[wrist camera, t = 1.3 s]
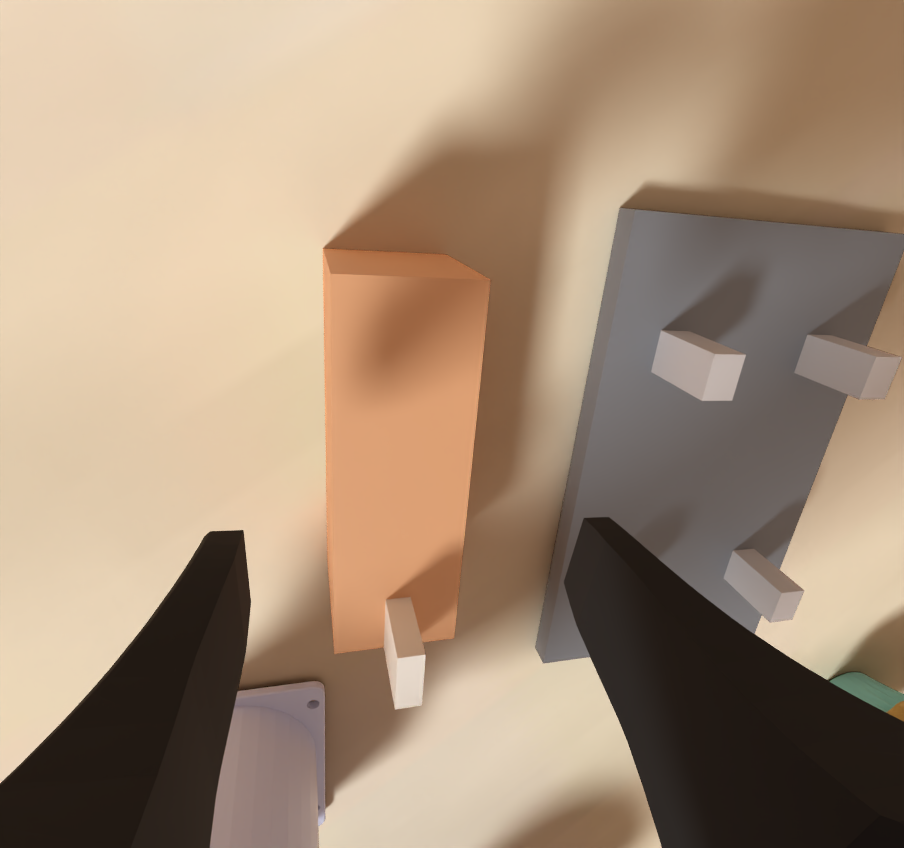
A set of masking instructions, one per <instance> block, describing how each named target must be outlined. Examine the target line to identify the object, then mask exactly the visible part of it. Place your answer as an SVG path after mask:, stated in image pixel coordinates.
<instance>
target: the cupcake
mask: <svg viewBox="0 0 904 848" xmlns="http://www.w3.org/2000/svg"><path fill="white" fill-rule="evenodd" d="M829 682H831V683H833V684H834V685H836V686H838V687H840V688H841V689H843V690H845V691H847V692H849V693H850V694H852V695H854V696H856V697H858V698H860V699H861V700H863V701H865V702H867V703H869V704H871V705H873V706H875V707H877V708H878V709H880V710H882V711H884V712H886V713H888V714H890V715H892V716H894V717H896V718H898V719H900V720H902V721H904V694H902V693H900V692H898V691H895V690H893V689H891V688H889V687H887V686H885V685H883V684H882V683H880V682H878V681H876V680H874V679H872V678H870V677H869V676H867V675H865V674H863V673H860V672H850V673H846V674H842V675H840V676H838V677H836V678H834V679H832V680H830V681H829Z"/></svg>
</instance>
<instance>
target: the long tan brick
mask: <svg viewBox="0 0 904 848" xmlns="http://www.w3.org/2000/svg"><path fill="white" fill-rule="evenodd" d="M490 283H491V280H490V279H488V278H487V277H485V276H483V275H481V274H480V273H478V272H476V271H474V270H473V269H471V268H469V267H467V266H466V265H464V264H462V263H461V262H459V261H457V260H455V259H454V258H452V257H450V256H448V255H447V254H428V253H407V252H387V251H367V250H347V249H326V248H323V296H324V363H325V430H326V496H327V562H328V575H329V589H330V602H331V616H332V629H333V643H334V654H338V653H345V652H353V651H361V650H368V649H376V648H384V651H385V657H386V662H387V668H388V674H389V679H390V685H391V690H392V696H393V702H394V707H395V710H396V709H402V708H409V707H415V706H421V705H422V697H423V684H424V671H425V658H426V654H425V650H424V646H423V642H430V641H437V640H445V639H453V638H454V635H455V625H456V615H457V606H458V596H459V586H460V576H461V566H462V557H463V547H464V537H465V527H466V518H467V508H468V498H469V488H470V478H471V469H472V459H473V449H474V439H475V429H476V420H477V410H478V400H479V390H480V381H481V371H482V361H483V351H484V341H485V332H486V322H487V312H488V302H489V293H490Z"/></svg>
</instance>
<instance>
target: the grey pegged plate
mask: <svg viewBox="0 0 904 848" xmlns="http://www.w3.org/2000/svg"><path fill="white" fill-rule="evenodd" d="M903 252H904V234H898V233H889V232H879V231H868V230H857V229H846V228H835V227H824V226H813V225H802V224H791V223H780V222H769V221H759V220H748V219H737V218H726V217H715V216H704V215H693V214H682V213H671V212H660V211H650V210H639V209H628V208H620V210H619V215H618V220H617V225H616V230H615V236H614V241H613V246H612V251H611V256H610V262H609V267H608V272H607V277H606V282H605V288H604V293H603V298H602V303H601V308H600V314H599V319H598V324H597V329H596V334H595V340H594V345H593V350H592V355H591V360H590V366H589V371H588V376H587V381H586V386H585V392H584V397H583V402H582V407H581V412H580V418H579V423H578V428H577V433H576V438H575V444H574V449H573V454H572V459H571V464H570V470H569V475H568V480H567V485H566V490H565V496H564V501H563V506H562V511H561V516H560V522H559V527H558V532H557V537H556V542H555V548H554V553H553V558H552V563H551V568H550V574H549V579H548V584H547V589H546V594H545V600H544V605H543V610H542V615H541V620H540V626H539V631H538V636H537V641H536V646H535V648H536V650H537V652H538V654H539V656H540V658H541V660H542V662H543V663H550V662H557V661H564V660H571V659H578V658H586V657H590V655H589V653H588V650H587V648H586V646H585V644H584V641H583V639H582V637H581V635H580V632H579V630H578V628H577V625H576V622H575V619H574V616H573V613H572V610H571V606H570V603H569V599H568V596H567V592H566V589H565V585H564V579H565V576H566V573H567V570H568V567H569V563H570V560H571V557H572V554H573V551H574V547H575V544H576V541H577V538H578V535H579V531H580V528H581V525H582V522H583V519H584V518H592V517H610V518H611V519H612V520H613V521H615V522H616V523H617V524H618V525H620V526H621V527H622V528H623V529H624V530H626V531H627V532H628V533H629V534H630V535H631V536H633V537H634V538H635V539H636V540H637V541H638V542H639V543H641V544H642V545H643V546H644V547H645V548H646V549H648V550H649V551H650V552H651V553H652V554H653V555H655V556H656V557H657V558H658V559H659V560H660V561H661V562H663V563H664V564H665V565H666V566H667V567H669V568H670V569H671V570H672V571H673V572H674V573H676V574H677V575H678V576H679V577H680V578H682V579H683V580H684V581H685V582H686V583H688V584H689V585H690V586H691V587H693V588H694V589H695V590H696V591H698V592H699V593H700V594H701V595H703V596H704V597H705V598H706V599H708V600H709V601H710V602H711V603H713V604H714V605H715V606H717V607H718V608H719V609H721V610H722V611H723V612H725V613H726V614H727V615H729V616H730V617H731V618H733V619H734V620H735V621H737V622H738V623H739V624H741V625H742V626H744V627H745V628H746V629H748V630H749V631H751V632H752V633H753V634H754V633H755V631H756V628H757V626H758V623H759V621H760V618H761V615H763V616H764V617H765V618H766V619H767V620H768V621H769V622H778V621H785V620H792V619H793V616H794V614H795V612H796V609H797V607H798V605H799V602H800V600H801V597H802V595H803V593H804V590H803V589H802V588H801V587H800V586H798V585H797V584H796V583H795V582H794V581H792V580H791V579H790V578H789V577H787V576H786V575H785V574H784V573H783V572H781V571H780V570H779V569H780V567H781V564H782V562H783V559H784V557H785V554H786V551H787V549H788V546H789V544H790V541H791V539H792V536H793V533H794V531H795V528H796V526H797V523H798V521H799V518H800V516H801V513H802V510H803V508H804V505H805V503H806V500H807V498H808V495H809V493H810V490H811V487H812V485H813V482H814V480H815V477H816V475H817V472H818V469H819V467H820V464H821V462H822V459H823V457H824V454H825V452H826V449H827V446H828V444H829V441H830V439H831V436H832V434H833V431H834V429H835V426H836V423H837V421H838V418H839V416H840V413H841V411H842V408H843V405H844V403H845V400H846V398H847V395H850V396H852V397H855V398H857V399H885V397H886V395H887V393H888V390H889V388H890V385H891V383H892V381H893V378H894V376H895V374H896V371H897V369H898V366H899V364H900V362H901V359H902V357H900V356H897V355H893V354H890V353H887V352H884V351H881V350H877V349H874V348H871V347H868V346H867V344H868V341H869V339H870V336H871V334H872V331H873V329H874V326H875V324H876V321H877V318H878V316H879V313H880V311H881V308H882V306H883V303H884V301H885V298H886V295H887V293H888V290H889V288H890V285H891V283H892V280H893V277H894V275H895V272H896V270H897V267H898V265H899V262H900V260H901V257H902V254H903Z"/></svg>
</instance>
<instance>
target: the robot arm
mask: <svg viewBox="0 0 904 848" xmlns="http://www.w3.org/2000/svg"><path fill="white" fill-rule="evenodd" d="M564 585H565V589H566V592H567V596H568V599H569V603H570V606H571V610H572V613H573V616H574V619H575V622H576V625H577V628H578V630H579V632H580V635H581V637H582V639H583V641H584V644H585V646H586V648H587V650H588V653H589V655H590V657H591V660H592V662H593V664H594V666H595V668H596V671H597V673H598V675H599V677H600V679H601V682H602V684H603V686H604V688H605V691H606V693H607V695H608V697H609V699H610V702H611V704H612V706H613V708H614V710H615V713H616V715H617V717H618V719H619V722H620V724H621V727H622V729H623V732H624V734H625V736H626V739H627V741H628V744H629V747H630V750H631V753H632V756H633V759H634V762H635V765H636V768H637V770H638V773H639V776H640V779H641V782H642V785H643V788H644V791H645V794H646V797H647V801H648V804H649V807H650V810H651V813H652V817H653V820H654V823H655V826H656V829H657V832H658V836H659V839H660V842H661V846H662V848H904V721H902V720H900V719H898V718H896V717H894V716H892V715H890V714H888V713H886V712H884V711H882V710H880V709H878V708H877V707H875V706H873V705H871V704H869V703H867V702H865V701H863V700H861V699H860V698H858V697H856V696H854V695H852V694H850V693H849V692H847V691H845V690H843V689H841V688H840V687H838V686H836V685H834V684H833V683H831V682H829V681H828V680H826V679H824V678H823V677H821V676H819V675H817V674H816V673H814V672H812V671H811V670H809V669H807V668H806V667H804V666H802V665H801V664H799V663H798V662H796V661H794V660H793V659H791V658H790V657H788V656H786V655H785V654H783V653H782V652H780V651H779V650H777V649H776V648H774V647H773V646H771V645H770V644H768V643H767V642H765V641H764V640H762V639H761V638H759V637H758V636H756V635H755V634H753V633H752V632H751V631H749V630H748V629H746V628H745V627H744V626H742V625H741V624H739V623H738V622H737V621H735V620H734V619H733V618H731V617H730V616H729V615H727V614H726V613H725V612H723V611H722V610H721V609H719V608H718V607H717V606H715V605H714V604H713V603H711V602H710V601H709V600H708V599H706V598H705V597H704V596H703V595H701V594H700V593H699V592H698V591H696V590H695V589H694V588H693V587H691V586H690V585H689V584H688V583H686V582H685V581H684V580H683V579H682V578H680V577H679V576H678V575H677V574H676V573H674V572H673V571H672V570H671V569H670V568H669V567H667V566H666V565H665V564H664V563H663V562H661V561H660V560H659V559H658V558H657V557H656V556H655V555H653V554H652V553H651V552H650V551H649V550H648V549H646V548H645V547H644V546H643V545H642V544H641V543H639V542H638V541H637V540H636V539H635V538H634V537H633V536H631V535H630V534H629V533H628V532H627V531H626V530H624V529H623V528H622V527H621V526H620V525H618V524H617V523H616V522H615V521H613V520H612V519H611V518H610V517H592V518H584V519H583V522H582V525H581V528H580V531H579V535H578V538H577V541H576V544H575V547H574V551H573V554H572V557H571V560H570V563H569V567H568V570H567V573H566V576H565V579H564ZM250 606H251V598H250V589H249V579H248V570H247V560H246V551H245V541H244V532H243V530H238V531H211V532H209V533H208V534H207V535H206V536H204V538H203V540H202V542H201V543H200V545H199V547H198V549H197V550H196V552H195V553H194V555H193V557H192V558H191V560H190V562H189V563H188V565H187V566H186V568H185V569H184V571H183V572H182V574H181V575H180V577H179V578H178V580H177V581H176V583H175V584H174V586H173V587H172V589H171V590H170V592H169V593H168V594H167V596H166V597H165V598H164V600H163V601H162V603H161V604H160V605H159V607H158V608H157V610H156V611H155V612H154V614H153V615H152V616H151V618H150V619H149V621H148V622H147V623H146V625H145V626H144V627H143V628H142V630H141V631H140V632H139V634H138V635H137V636H136V637H135V639H134V640H133V641H132V642H131V643H130V645H129V646H128V647H127V648H126V650H125V651H124V652H123V653H122V655H121V656H120V657H119V658H118V660H117V661H116V662H115V663H114V665H113V666H112V667H111V668H110V669H109V671H108V672H107V673H106V674H105V675H104V676H103V678H102V679H101V680H100V681H99V682H98V683H97V685H96V686H95V687H94V688H93V689H92V690H91V691H90V692H89V694H88V695H87V696H86V697H85V698H84V699H83V700H82V701H81V702H80V703H79V705H78V706H77V707H76V708H75V709H74V710H73V711H72V712H71V713H70V714H69V715H68V716H67V717H66V719H65V720H64V721H63V722H62V723H61V724H60V725H59V726H58V727H57V728H56V729H55V730H54V731H53V732H52V733H51V734H50V735H49V736H48V737H47V738H46V739H45V740H44V741H43V742H42V743H41V744H40V745H39V746H38V747H37V748H36V749H35V750H34V751H33V752H32V753H31V754H30V755H29V756H28V757H27V758H26V759H25V760H24V761H23V762H22V763H21V764H20V765H19V766H18V767H17V768H16V769H15V770H14V771H13V772H12V773H11V774H10V775H9V776H8V777H7V778H6V779H5V780H3V781H2V782H1V783H0V848H319V830H318V826H320V825H321V824H322V823H323V822H324V821H325V688H324V685H323V684H322V683H321V682H318V681H310V682H302V683H295V684H287V685H280V686H272V687H265V688H257V689H250V690H242V691H238V687H239V682H240V677H241V673H242V668H243V663H244V658H245V653H246V646H247V636H248V627H249V616H250ZM312 700H316V701H312Z"/></svg>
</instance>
